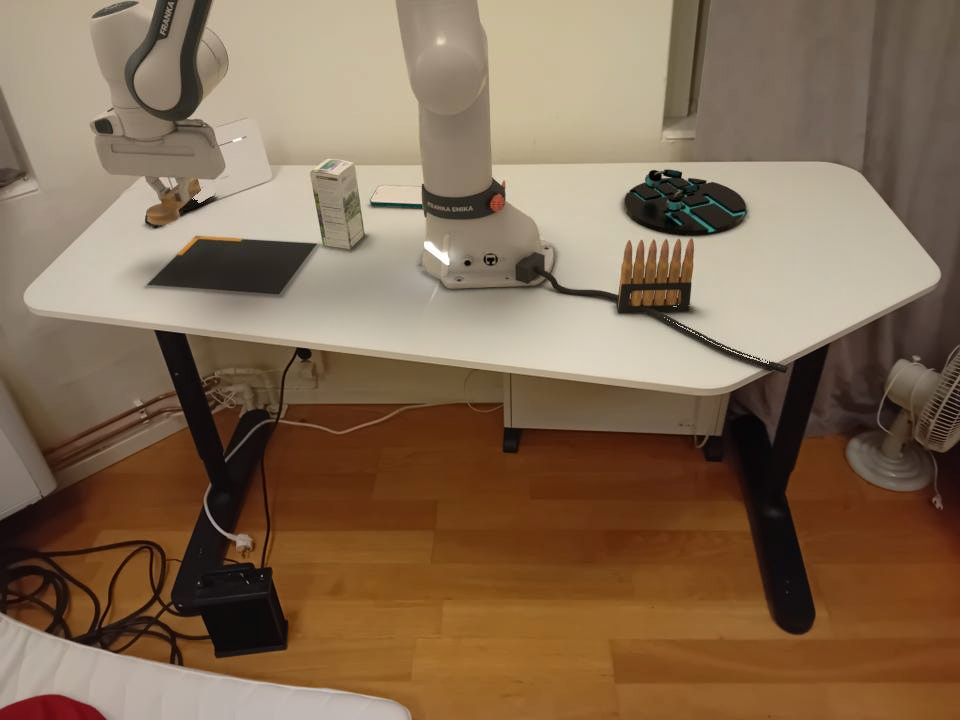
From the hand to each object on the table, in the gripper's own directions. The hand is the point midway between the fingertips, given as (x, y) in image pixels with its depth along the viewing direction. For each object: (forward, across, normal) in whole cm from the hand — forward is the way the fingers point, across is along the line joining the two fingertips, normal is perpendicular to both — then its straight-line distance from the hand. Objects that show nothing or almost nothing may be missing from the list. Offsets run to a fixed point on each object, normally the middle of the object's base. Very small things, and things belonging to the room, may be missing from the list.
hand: (174, 199), depth 124 cm
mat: (+12, -7, -1) cm, 14 cm away
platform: (+12, -84, -31) cm, 90 cm away
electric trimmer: (+13, +13, -19) cm, 27 cm away
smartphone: (+12, -32, -29) cm, 45 cm away
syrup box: (+12, -24, -11) cm, 29 cm away
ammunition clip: (+12, -79, +4) cm, 80 cm away
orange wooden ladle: (+1, 0, 0) cm, 1 cm away
